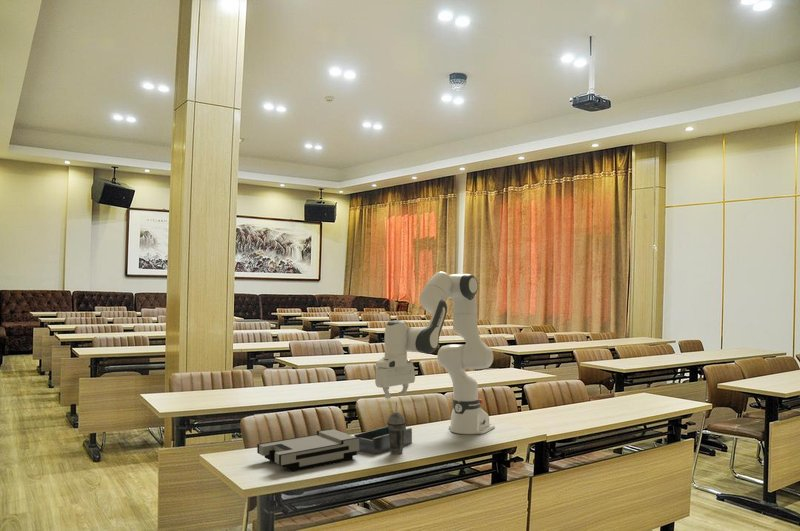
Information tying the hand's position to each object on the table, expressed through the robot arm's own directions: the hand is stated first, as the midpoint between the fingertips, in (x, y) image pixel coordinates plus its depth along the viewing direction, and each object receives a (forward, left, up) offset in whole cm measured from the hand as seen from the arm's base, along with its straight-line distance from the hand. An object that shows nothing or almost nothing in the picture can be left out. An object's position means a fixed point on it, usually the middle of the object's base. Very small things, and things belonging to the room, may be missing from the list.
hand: (395, 396), depth 236 cm
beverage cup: (0, 0, -22) cm, 22 cm away
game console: (+29, -19, -22) cm, 41 cm away
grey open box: (-5, -11, -22) cm, 25 cm away
